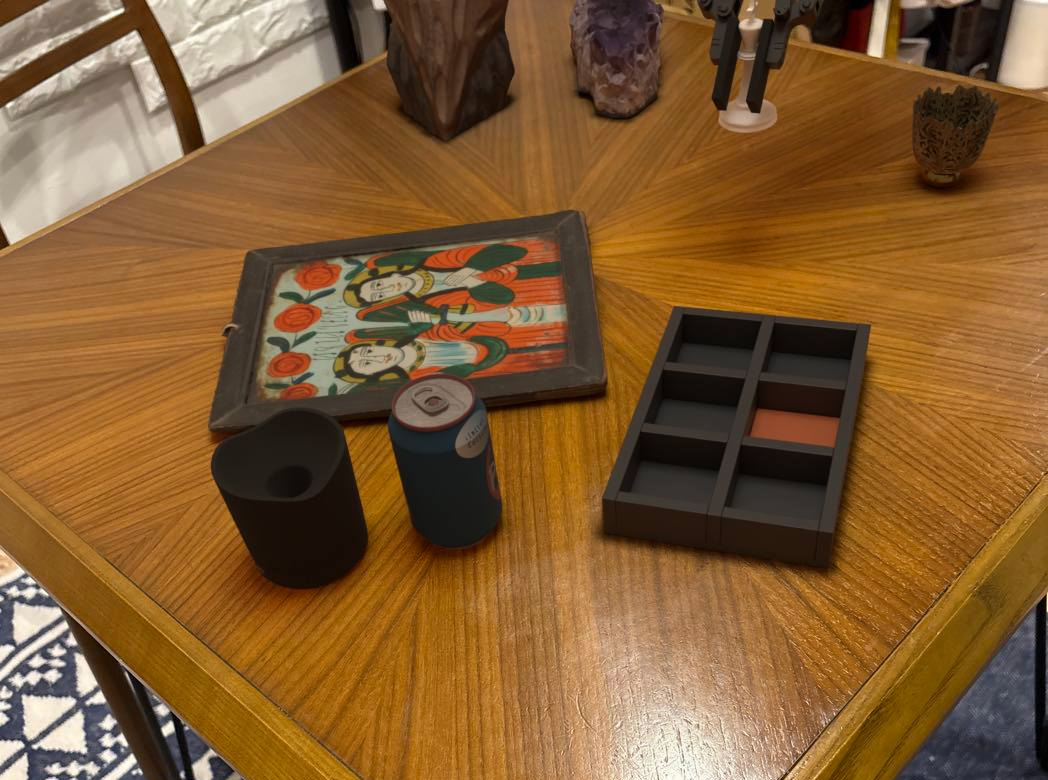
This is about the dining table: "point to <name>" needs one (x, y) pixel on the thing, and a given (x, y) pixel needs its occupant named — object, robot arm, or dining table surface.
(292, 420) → the pen holder
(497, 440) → the dining table surface
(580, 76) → the geode
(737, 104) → the chess piece
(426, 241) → the painting
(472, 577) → the dining table surface
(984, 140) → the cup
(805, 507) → the grid
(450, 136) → the owl
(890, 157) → the dining table surface
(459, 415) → the soda can
